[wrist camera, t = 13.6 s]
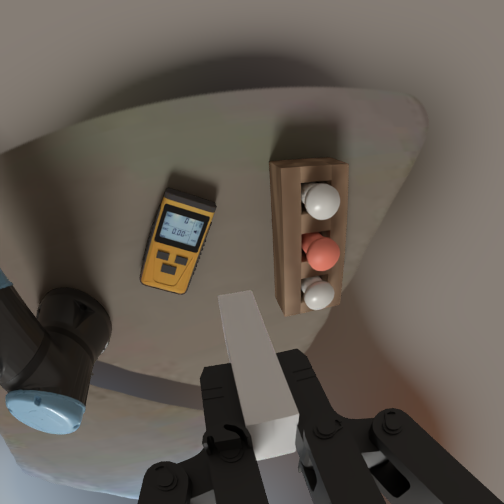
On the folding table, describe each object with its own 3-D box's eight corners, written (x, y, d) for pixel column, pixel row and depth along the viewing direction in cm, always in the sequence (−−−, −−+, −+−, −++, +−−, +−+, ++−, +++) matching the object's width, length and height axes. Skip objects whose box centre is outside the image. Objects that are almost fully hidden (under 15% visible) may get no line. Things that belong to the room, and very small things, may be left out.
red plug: (291, 250, 48) (308, 273, 42) (291, 223, 46) (309, 242, 40) (319, 246, 49) (338, 267, 43) (319, 219, 47) (340, 237, 40)
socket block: (275, 296, 54) (284, 316, 49) (268, 161, 43) (280, 168, 38) (326, 286, 55) (339, 304, 50) (330, 157, 45) (348, 163, 39)
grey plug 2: (290, 287, 52) (305, 312, 46) (290, 263, 50) (306, 287, 44) (315, 282, 53) (333, 306, 47) (316, 259, 51) (335, 281, 44)
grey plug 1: (289, 205, 46) (307, 221, 39) (288, 174, 44) (306, 186, 37) (318, 201, 46) (339, 217, 40) (317, 172, 44) (340, 183, 38)
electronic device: (139, 274, 47) (136, 285, 44) (164, 185, 42) (162, 191, 39) (186, 287, 50) (186, 298, 47) (218, 202, 45) (220, 209, 42)
